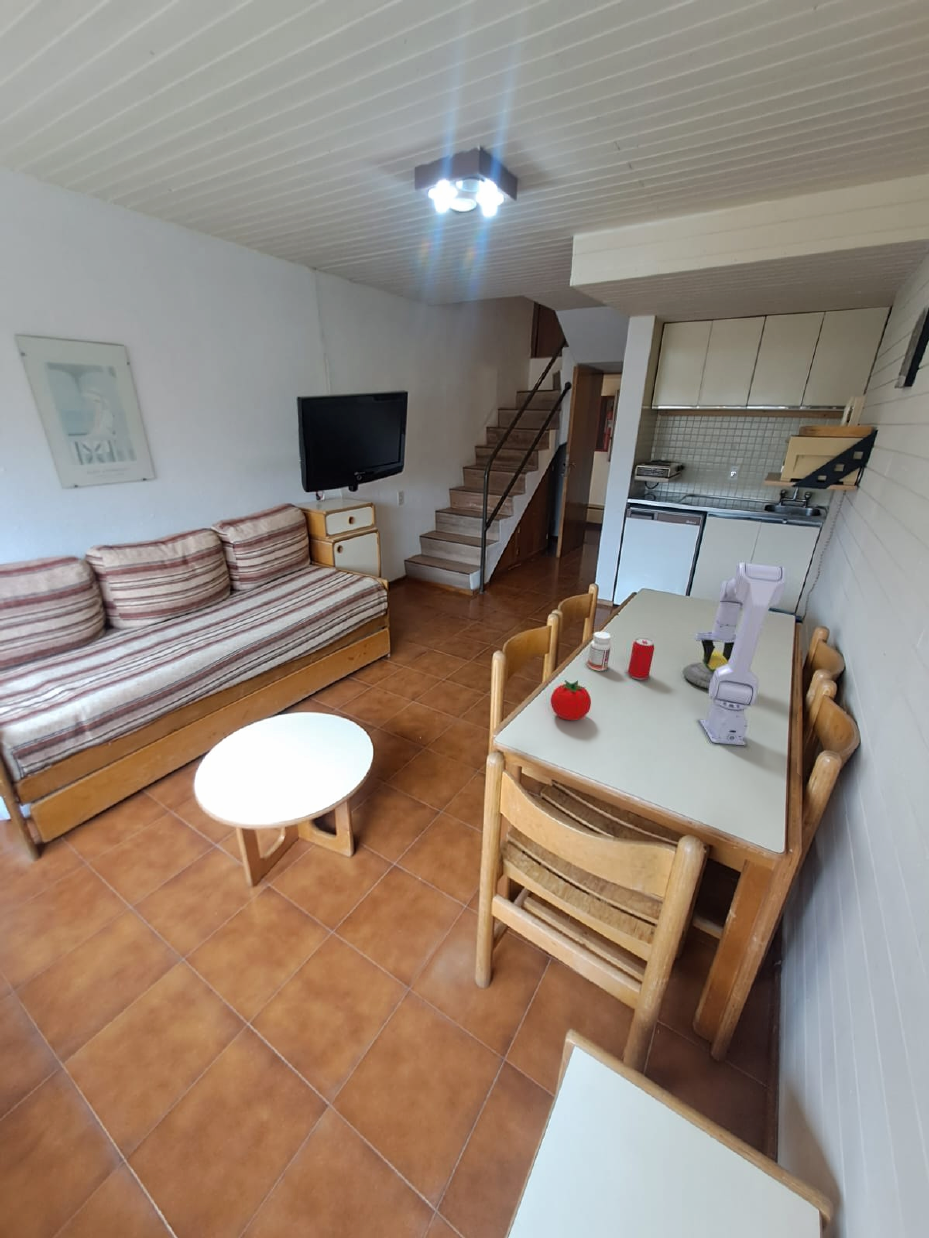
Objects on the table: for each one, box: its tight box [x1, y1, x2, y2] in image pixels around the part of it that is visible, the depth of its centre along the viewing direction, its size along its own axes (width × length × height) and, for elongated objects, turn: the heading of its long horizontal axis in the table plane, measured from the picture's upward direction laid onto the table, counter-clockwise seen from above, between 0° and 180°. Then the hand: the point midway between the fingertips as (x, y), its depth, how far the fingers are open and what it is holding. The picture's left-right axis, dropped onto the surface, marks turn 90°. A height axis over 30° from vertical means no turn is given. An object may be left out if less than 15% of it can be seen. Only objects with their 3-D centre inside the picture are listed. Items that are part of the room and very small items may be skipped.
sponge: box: [701, 650, 729, 671], centre depth 149 cm, size 7×4×4 cm, turn 175°
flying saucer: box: [682, 661, 714, 690], centre depth 151 cm, size 15×15×6 cm
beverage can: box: [627, 637, 655, 680], centre depth 151 cm, size 6×6×12 cm
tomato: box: [550, 679, 592, 721], centre depth 130 cm, size 10×10×10 cm
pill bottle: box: [587, 631, 612, 672], centre depth 156 cm, size 6×6×11 cm
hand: (714, 663), depth 149 cm, fingers closed on sponge, 4 cm apart
